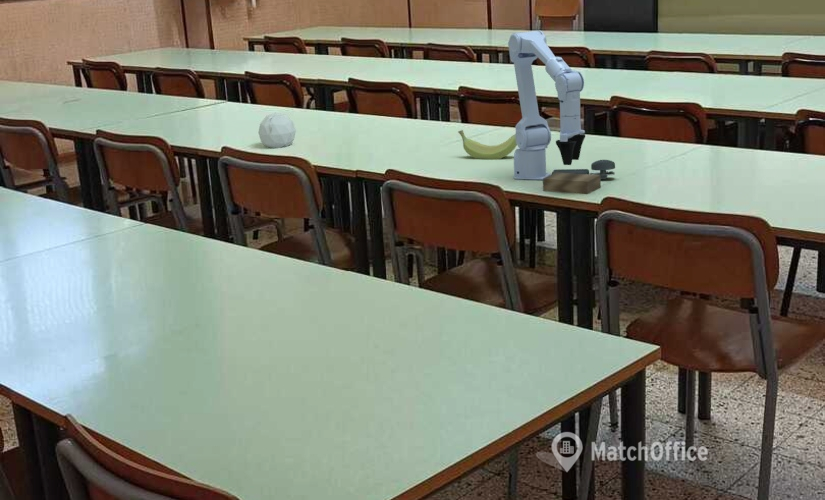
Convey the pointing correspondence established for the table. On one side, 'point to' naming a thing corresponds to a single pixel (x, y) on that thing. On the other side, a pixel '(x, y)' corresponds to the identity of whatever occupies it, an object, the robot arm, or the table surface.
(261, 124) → the geodesic sphere
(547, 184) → the walnut block
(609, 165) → the can opener
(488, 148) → the banana
